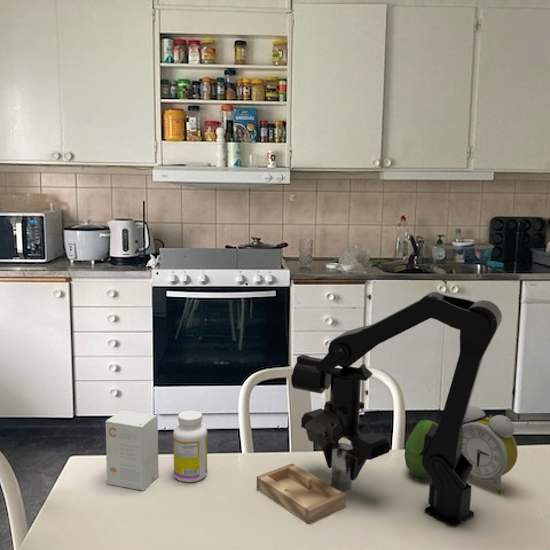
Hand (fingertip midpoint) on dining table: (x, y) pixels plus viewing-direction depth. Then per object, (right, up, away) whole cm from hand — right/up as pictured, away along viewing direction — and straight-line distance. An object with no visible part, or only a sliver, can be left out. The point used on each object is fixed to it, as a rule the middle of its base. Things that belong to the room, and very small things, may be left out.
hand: (341, 473), depth 118 cm
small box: (-41, -2, +1) cm, 41 cm away
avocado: (+17, -2, +5) cm, 18 cm away
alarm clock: (+29, -3, +4) cm, 29 cm away
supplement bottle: (-30, -2, +3) cm, 30 cm away
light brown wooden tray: (-8, -3, -4) cm, 10 cm away
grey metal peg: (0, -3, 0) cm, 2 cm away
